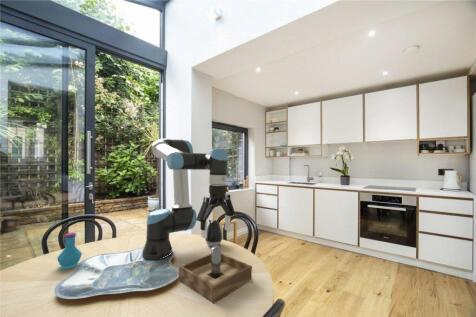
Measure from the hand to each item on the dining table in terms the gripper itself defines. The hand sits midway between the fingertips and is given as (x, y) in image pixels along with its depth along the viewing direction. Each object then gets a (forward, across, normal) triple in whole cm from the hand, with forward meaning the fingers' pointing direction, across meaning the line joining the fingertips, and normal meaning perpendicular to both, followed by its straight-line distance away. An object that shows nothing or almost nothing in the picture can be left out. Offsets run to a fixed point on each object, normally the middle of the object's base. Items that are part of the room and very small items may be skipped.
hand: (216, 233), depth 95 cm
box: (+20, 0, 0) cm, 20 cm away
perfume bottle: (+21, -39, +59) cm, 74 cm away
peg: (+20, 0, -1) cm, 20 cm away
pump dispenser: (+20, +26, +30) cm, 44 cm away
